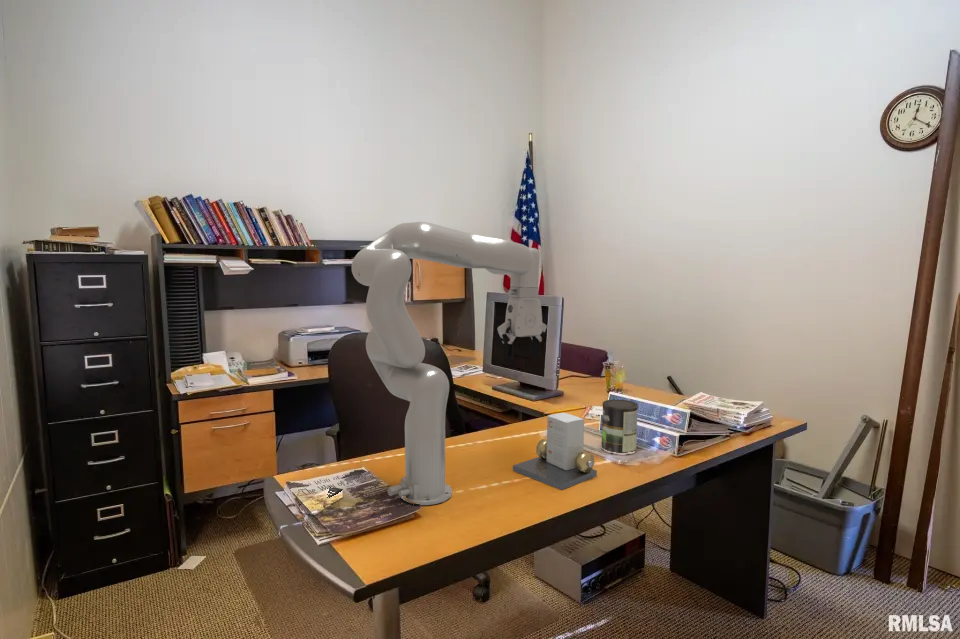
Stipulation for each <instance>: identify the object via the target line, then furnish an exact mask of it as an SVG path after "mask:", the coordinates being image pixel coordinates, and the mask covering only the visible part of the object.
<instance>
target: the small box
mask: <svg viewBox="0 0 960 639" xmlns="http://www.w3.org/2000/svg"><path fill="white" fill-rule="evenodd" d="M546 419H547V420H546V422H547V423H546V424H547V425H546V440H547V462H548V463H550V464H553V465H555V466H557V467H559V468H562V469H564V470H570V469H574V468H575V458H576V456H577V454H578V453H579V452H581V451H585V450H584V446H585V444H584V443H585V442H584V441H585V439H584V438H585V437H584V436H585V429H584V428H585V419H584V418H581V417H578V416H576V415H573V414H570V413H566V412H561V413H559V412H558V413H553V414H550V415H549V414H548V415H547V417H546Z"/></svg>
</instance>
